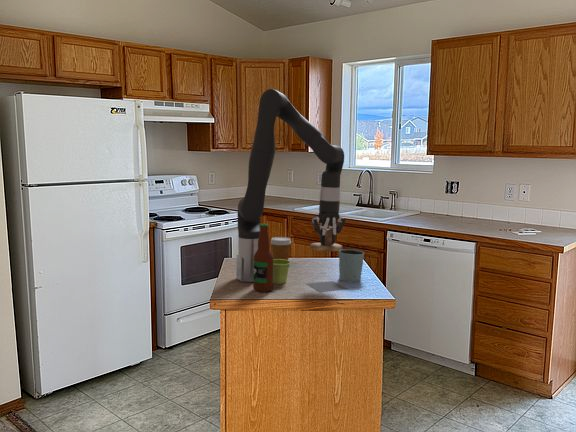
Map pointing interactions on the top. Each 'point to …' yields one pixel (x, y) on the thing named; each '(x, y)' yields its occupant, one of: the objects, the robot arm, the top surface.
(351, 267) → the grey green tapered cylinder
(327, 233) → the lid
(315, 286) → the mat
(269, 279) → the bottle
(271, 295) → the top surface
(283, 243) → the disposable coffee cup
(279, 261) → the plant pot
